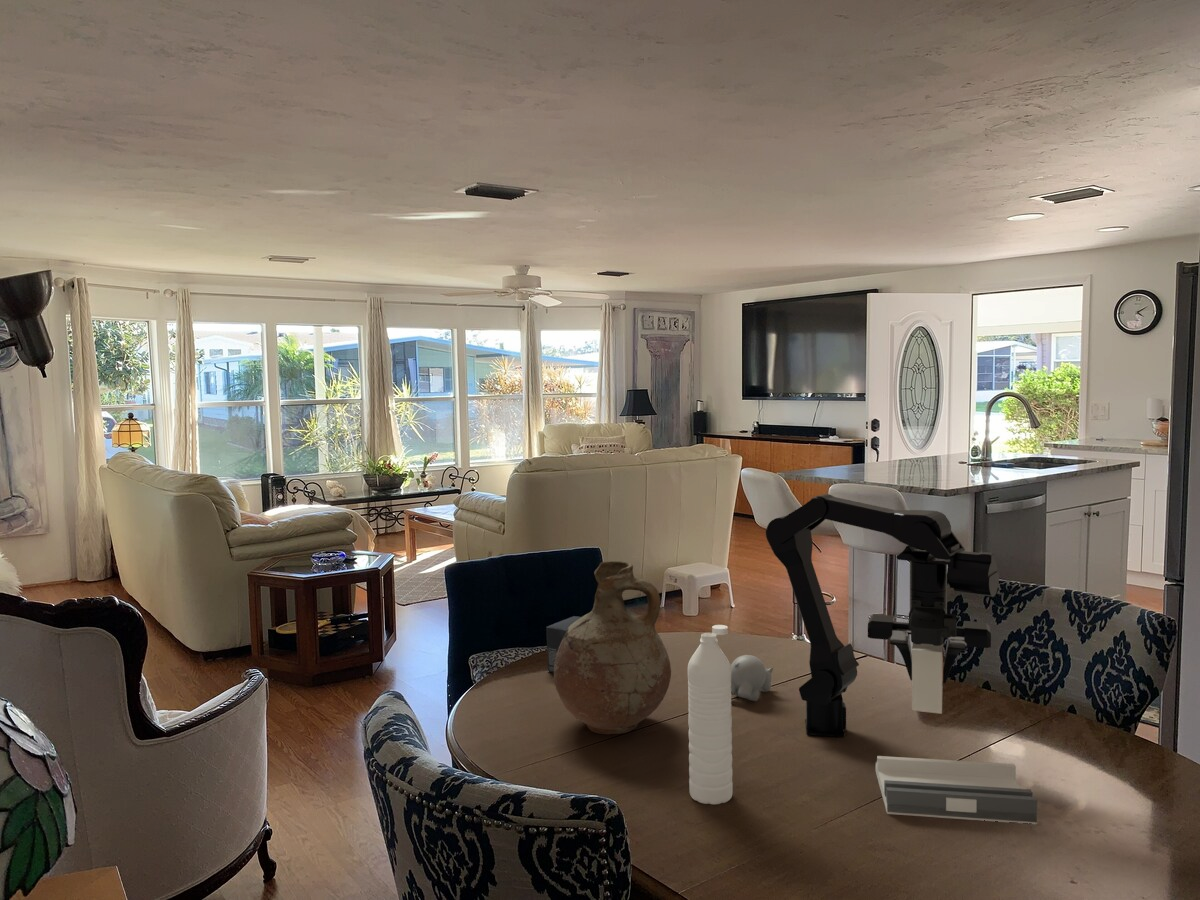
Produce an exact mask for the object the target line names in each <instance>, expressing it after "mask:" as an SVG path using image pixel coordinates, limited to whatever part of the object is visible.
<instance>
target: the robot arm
mask: <svg viewBox="0 0 1200 900" xmlns="http://www.w3.org/2000/svg"><path fill="white" fill-rule="evenodd" d="M826 520H828V521H833V522H837V523H840V524H845V525H850V526H854V527H857V528H862V529H866V530H870V531H874V532H878V533H884V534H886V535H888V536H890V537H892V538H894V539H895V540H897V541H898V542H900V543H902V544H905V545H906V546H905V547H904V549H903V550H902V551H901V552H900V553H899V554H897V555H896V559H897V560H899V561H906V562H907V561H909V612H908V622H904V621H903V622H902V621H895V615H888V614H872V615H871V616H870V617H869V619H868V622H867V638H869V639H875V640H884V641H885V640H889V645H891V646H896V648H897V649H898V650H899V653H900V655H901V657H902V659H903V662H904V665H905V668H906V671H907V675H908V677H909V680H910V681H911V682H912V645H911V643H912V644H913V643H914V644H932V645H934V646H940V645H942V644H943V645H944V641H945V640H944V638H946V639H947V641H946V647H945V648H946V649H945V655H944V660H943V681H942V685H944V684H945V685H946V684H947V680H948V678H949V676H950V672H951V669H952V668H953V664H954V662H955V661H956V658H957V656H958V655H959V654H960V653H961V652H965V651H966V652H967V651H968V646H969V647H971V648H983V649H984V648H985V649H990V648H991V647H992V633H991V626H990V625H989V624H988V623H987V622H986V621H985V622H984V621H972V620H964V621H963V626H957V614H953V613H948V587H947V586H948V585H949V588H950V589H953V590H954V592H955V593H960V594H969V595H977V596H983V597H992V598H994V597H996V594H997V592H998V589H999V582H1000V571H998V565H997V561H996V559H995V553H994V552H991V551H990V552H987V551H984V552H975V551H967V550H966V548H965V547H964V546H963V544H962V543H961V542H960V540H959V539H958V538H957V536H956V535H955V534H954V532H953V531H952V526H951V521H950V520H949V519H948V517H947V516H946V514H944V513H943V512H940V511H937V510H926V509H924V510H923V509H907V510H906V509H905V510H904V509H902V510H901V509H891V508H887V507H882V506H879V505H878V506H877V505H873V504H869V503H864V502H860V501H855V500H850V499H846V498H841V497H837V496H833V494H830V493H824V494H820V495H817V496H813V497H812V498H811V499H810V500H809V501H807V502H806V503H805V504H803V505H802V506H800V507H798V508H797V509H795V510H793V511H792V512H790V513H789V514H787V515H784V516H783V515H782V516H779V517H776V518H774V519H772V520H771V521H770V522H768V524H767V527H766V529H765V531H764V532H765V538H766V541H767V543H768V545H769V546H770V549H771V551H772V553H773V554H774V556H775V557H776V558H777V560H778V561H779V562H781V564H782V565H783V566H784V568H785V569H786V572H787V576H788V579H789V581H790V585H791V588H792V591H793V595H794V597H795V600H796V601H795V602H796V603H797V606H798V609H799V613H800V616H801V619H802V622H803V625H804V629H805V631H806V635H807V638H808V641H809V643H810V649H809V661H808V662H809V671H810V676H811V677H810V679H808V680H807V681H806V682H805V683H803V684H802V685H800V686H799V687H798V691H799V695H800V697H801V700H802V701H805V719H804V724H805V732H806V733H805V734H806V735H807V736H822V737H823V736H824V737H825V736H826V737H839V738H841V737H842V738H843V737H845V731H846V730H847V705H846V703H845V701H844V699H843V695H842V694H843V693H845V692H847V690H848V687H850V686H851V685H852V684H853V683H854V682H855V680H856V679H857V676H858V669H857V667H858V666H859V665H860V663H859V662H858V661H857V659H856V657H855V654H854V648H853V645H852V643H847V644H845V645H844V643H842V641H841V640H840V639H839V638H838V637H837V634H836V631H835V627H834V626H833V622H832V619H831V616H830V612H829V609H828V607H827V604H826V601H825V597H824V595H823V592H822V589H821V585H820V582H819V579H818V576H817V574H816V570H815V567H814V564H813V559H812V556H813V555H812V554H813V544H814V543H813V537H812V531H813V530H814V529H816V528H818V527H819V526H820V525H821V524H823V522H825V521H826Z"/></svg>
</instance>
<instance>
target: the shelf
mask: <svg viewBox="0 0 1200 900" xmlns="http://www.w3.org/2000/svg"><path fill="white" fill-rule="evenodd" d="M1016 769H1017V767H1016V765H1015V764H1014V763H1007V762H1006V763H1005V762H989V761H987V762H985V761H971V760H969V761H968V760H957V759H956V760H954V759H952V760H951V759H937V758H922V757H921V758H918V757H917V758H916V757H904V756H902V757H901V756H899V757H898V756H888V755H887V756H885V755H884V756H883V755H877V757H876V761H875V774H876V779H877V782H878V786H879V789H880V793H881V795H882V800H883V804H884V807H885V811H886V814H887V815H899V816H900V815H901V816H914V817H924V818H925V817H926V818H927V817H929V818H941V819H942V818H943V819H955V820H956V819H957V820H966V821H967V820H969V821H970V820H971V821H981V822H982V821H984V820H985V821H986V822H995V821H998V823H1009V822H1018V823H1017V824H1023V823H1028V824H1027V825H1030V824H1029V823H1032V824H1031V825H1038V799H1037V797H1036V796H1033V795H1034V794H1033V791H1032V790H1031V789H1029V788H1022V787H1021V786H1020V784H1019V783H1018V781H1017V780H1016V779H1017V777H1016V776H1017V775H1016V772H1017V771H1016ZM985 821H984V822H985ZM1033 823H1034V824H1033Z"/></svg>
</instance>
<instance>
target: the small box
mask: <svg viewBox="0 0 1200 900" xmlns="http://www.w3.org/2000/svg"><path fill="white" fill-rule="evenodd" d="M581 617H582V616H575V615H573V616H570V617H568V618H565V619H562V620H560V621H558V622H555V623H553V624H550V625H548V626H546V629H545V631H546V650H547V654H546V655H547V672H548V671H549V672H548V673H550V672H553V673H552V674H554V664H555V659H556V655H557V652H558V649H559V646H560V644H561V642H562V640H563V638H564V636H565V634H566V631H567V628H568V627H569V626H570V625H571V624H573V623H574V622H575V621H577V620H578V619H580V618H581Z"/></svg>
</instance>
